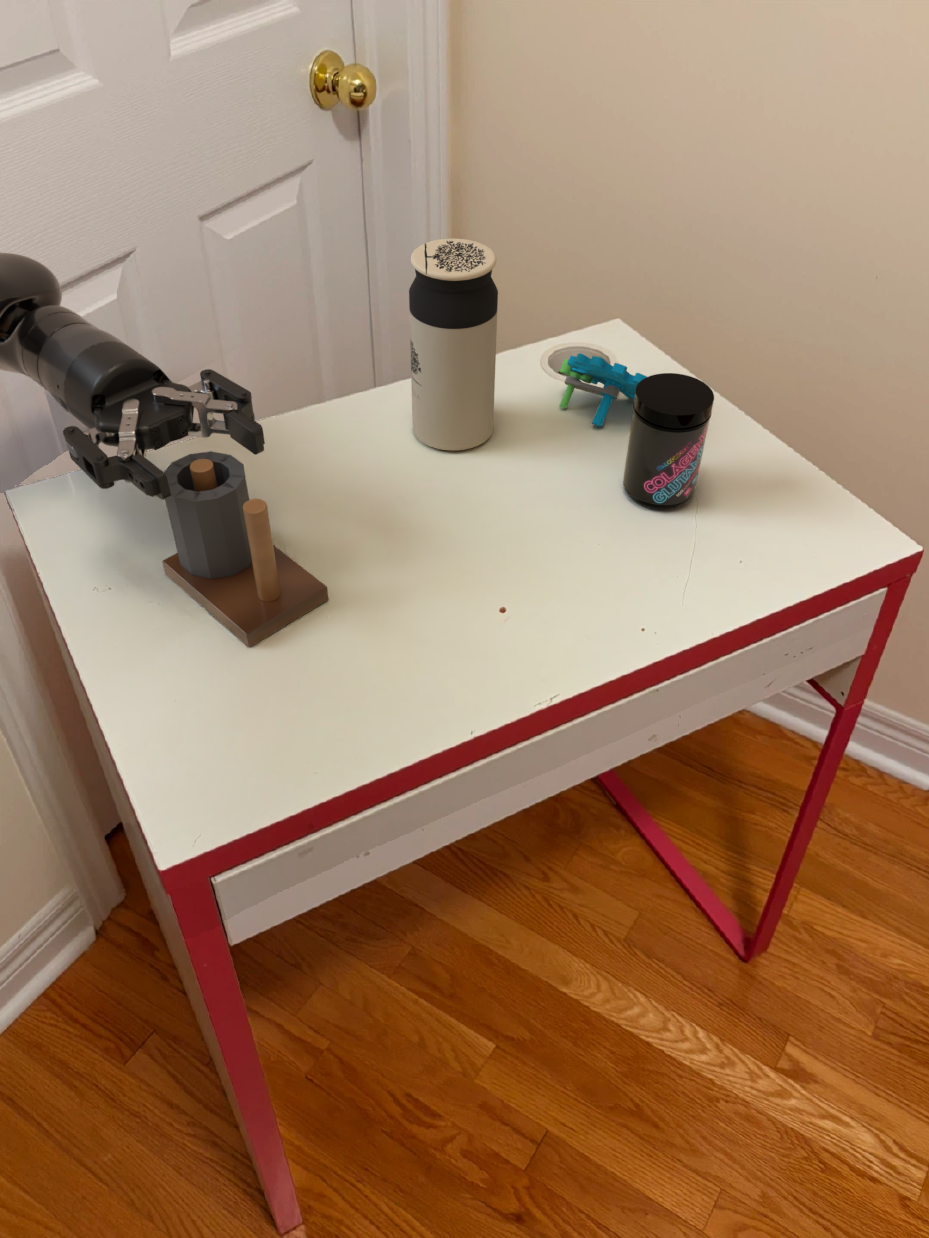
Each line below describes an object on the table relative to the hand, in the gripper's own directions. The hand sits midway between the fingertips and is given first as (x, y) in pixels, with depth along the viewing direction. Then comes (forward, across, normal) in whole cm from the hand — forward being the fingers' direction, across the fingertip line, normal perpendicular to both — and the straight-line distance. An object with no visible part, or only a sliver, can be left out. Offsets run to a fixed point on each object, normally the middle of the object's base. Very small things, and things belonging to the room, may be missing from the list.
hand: (213, 465), depth 80 cm
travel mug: (-4, +28, +12) cm, 31 cm away
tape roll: (-2, 0, +10) cm, 10 cm away
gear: (+5, +42, +12) cm, 44 cm away
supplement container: (+17, +36, +12) cm, 41 cm away
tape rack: (+1, 0, +12) cm, 12 cm away
